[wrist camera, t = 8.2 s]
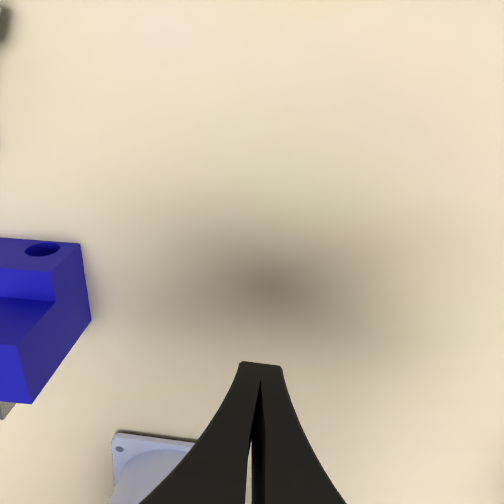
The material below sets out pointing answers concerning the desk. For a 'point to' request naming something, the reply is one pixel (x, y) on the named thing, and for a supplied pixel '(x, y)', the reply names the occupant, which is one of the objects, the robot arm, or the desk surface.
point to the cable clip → (38, 312)
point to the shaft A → (5, 409)
